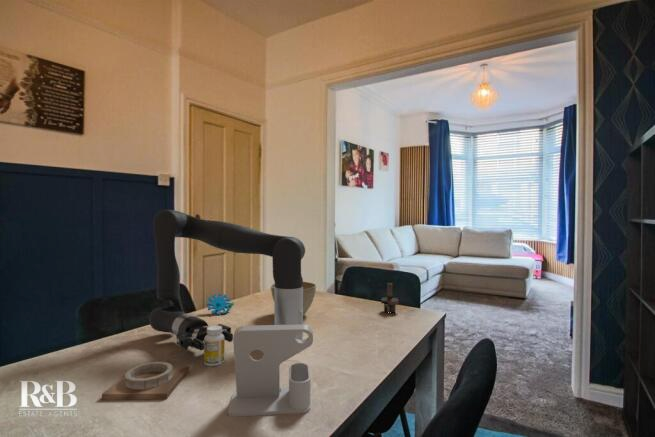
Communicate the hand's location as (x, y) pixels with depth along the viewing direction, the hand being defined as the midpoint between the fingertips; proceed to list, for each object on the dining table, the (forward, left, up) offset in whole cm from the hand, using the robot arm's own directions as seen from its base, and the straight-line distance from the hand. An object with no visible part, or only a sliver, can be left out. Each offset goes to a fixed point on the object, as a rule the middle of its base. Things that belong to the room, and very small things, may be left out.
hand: (217, 342), depth 95 cm
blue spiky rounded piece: (+12, -50, -6) cm, 52 cm away
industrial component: (-57, -50, -6) cm, 76 cm away
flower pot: (-18, -46, -6) cm, 50 cm away
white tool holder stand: (-17, +19, -6) cm, 27 cm away
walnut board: (+13, +11, -6) cm, 18 cm away
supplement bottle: (+1, -1, -6) cm, 6 cm away
